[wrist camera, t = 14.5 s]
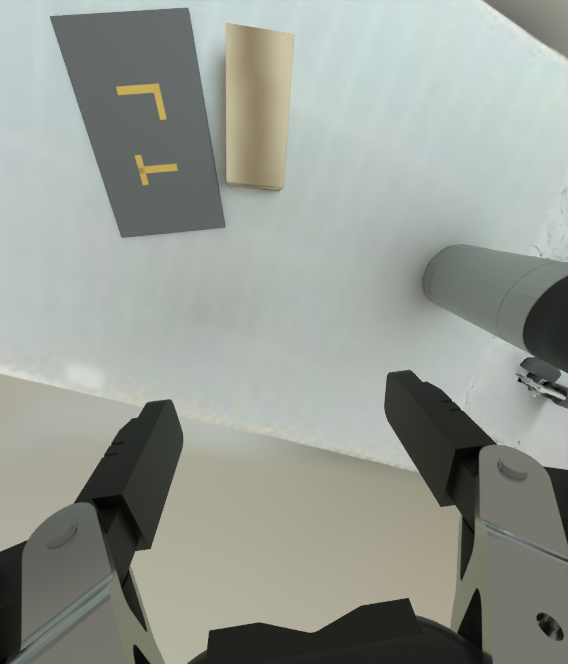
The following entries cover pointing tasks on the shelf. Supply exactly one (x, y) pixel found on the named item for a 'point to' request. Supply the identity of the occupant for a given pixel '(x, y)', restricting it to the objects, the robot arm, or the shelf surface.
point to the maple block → (257, 105)
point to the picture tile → (144, 117)
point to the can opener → (547, 389)
